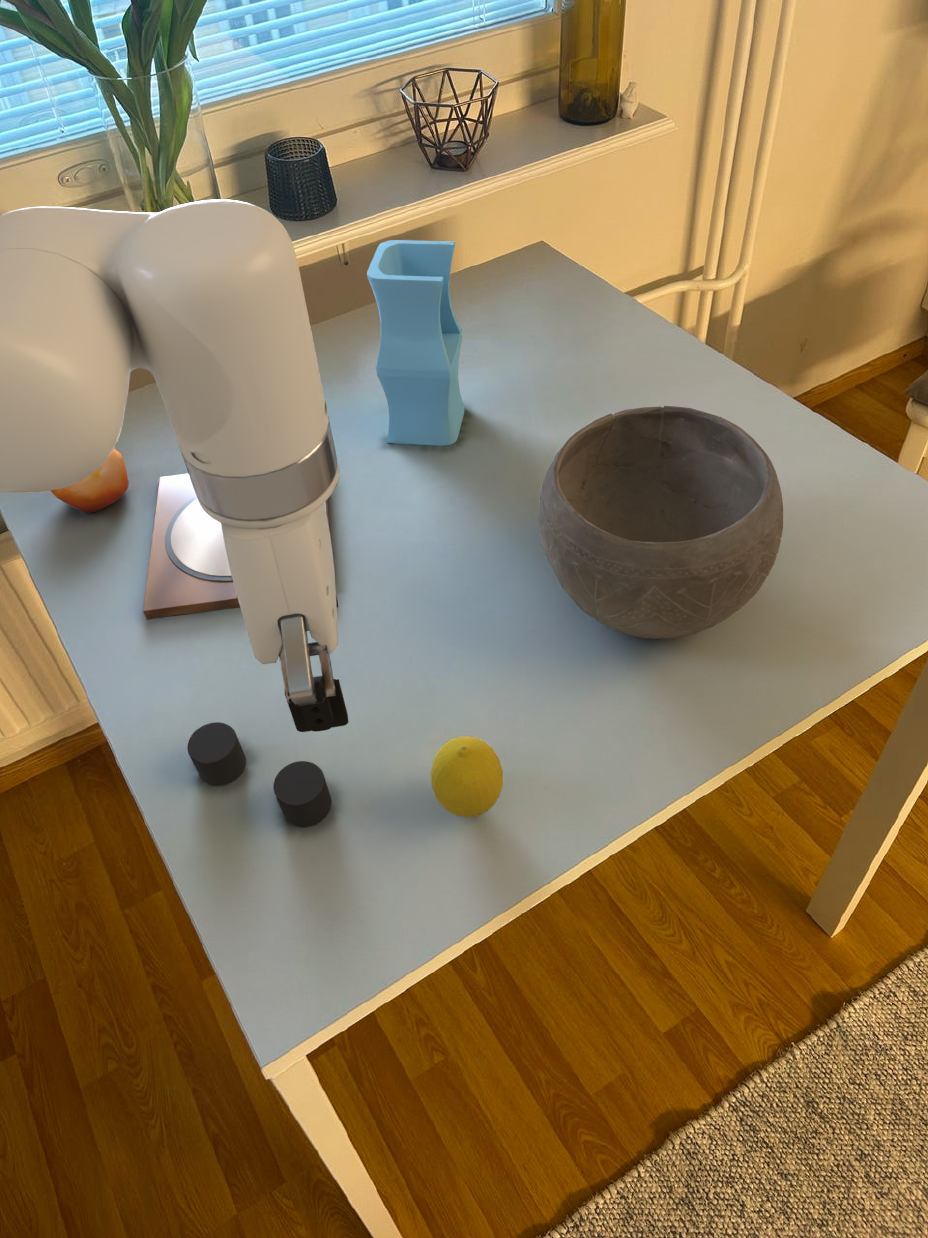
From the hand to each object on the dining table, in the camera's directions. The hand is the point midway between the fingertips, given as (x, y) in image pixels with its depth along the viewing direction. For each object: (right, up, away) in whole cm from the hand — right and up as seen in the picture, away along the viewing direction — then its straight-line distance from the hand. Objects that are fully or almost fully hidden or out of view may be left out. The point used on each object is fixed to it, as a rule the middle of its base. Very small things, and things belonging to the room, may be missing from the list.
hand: (319, 664), depth 61 cm
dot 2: (-3, -12, +15) cm, 19 cm away
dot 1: (-11, -9, +17) cm, 23 cm away
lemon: (+10, -12, +14) cm, 21 cm away
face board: (-14, +12, +36) cm, 40 cm away
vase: (+5, +25, +47) cm, 54 cm away
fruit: (-31, +16, +41) cm, 54 cm away
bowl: (+27, +6, +28) cm, 39 cm away
